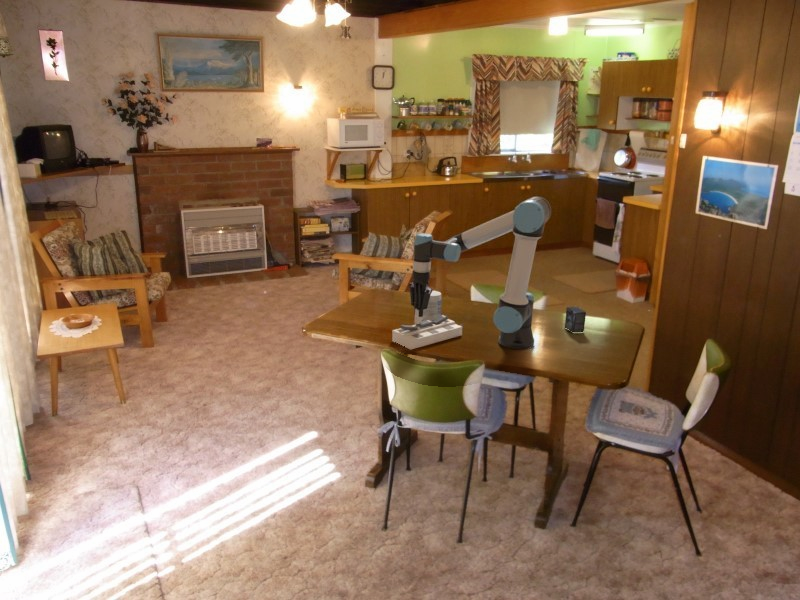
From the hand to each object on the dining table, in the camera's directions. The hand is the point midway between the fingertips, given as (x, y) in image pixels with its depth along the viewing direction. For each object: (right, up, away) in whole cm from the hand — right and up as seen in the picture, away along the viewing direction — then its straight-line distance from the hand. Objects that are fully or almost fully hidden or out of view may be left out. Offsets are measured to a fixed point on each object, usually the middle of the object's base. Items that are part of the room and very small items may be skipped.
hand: (418, 323), depth 299 cm
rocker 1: (-4, -2, -3) cm, 6 cm away
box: (+72, -4, +17) cm, 74 cm away
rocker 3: (+10, +1, +8) cm, 13 cm away
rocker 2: (+3, 0, +2) cm, 4 cm away
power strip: (+7, -6, +4) cm, 10 cm away
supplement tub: (+6, -1, +21) cm, 22 cm away
